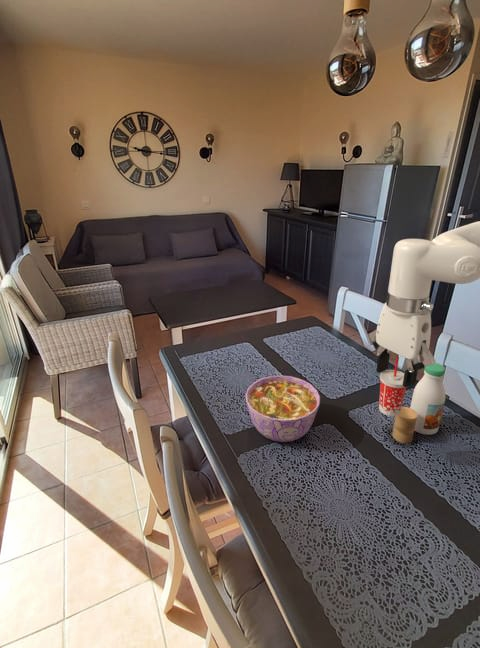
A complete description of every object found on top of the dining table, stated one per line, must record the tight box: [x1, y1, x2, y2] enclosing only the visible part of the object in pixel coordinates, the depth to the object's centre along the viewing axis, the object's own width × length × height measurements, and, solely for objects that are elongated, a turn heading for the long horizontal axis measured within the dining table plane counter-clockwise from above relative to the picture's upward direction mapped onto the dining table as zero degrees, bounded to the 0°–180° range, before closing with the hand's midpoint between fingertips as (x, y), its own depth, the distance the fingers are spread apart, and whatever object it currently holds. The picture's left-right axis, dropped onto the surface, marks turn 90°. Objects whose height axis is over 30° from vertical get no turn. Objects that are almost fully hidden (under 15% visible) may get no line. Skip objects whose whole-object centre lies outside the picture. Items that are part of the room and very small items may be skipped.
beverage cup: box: [378, 356, 408, 417], centre depth 80 cm, size 6×6×14 cm
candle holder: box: [391, 406, 417, 444], centre depth 95 cm, size 6×6×9 cm
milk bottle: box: [409, 362, 446, 436], centre depth 97 cm, size 8×8×20 cm
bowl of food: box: [244, 374, 321, 443], centre depth 99 cm, size 20×20×12 cm
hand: (394, 376), depth 80 cm, fingers closed on beverage cup, 6 cm apart
